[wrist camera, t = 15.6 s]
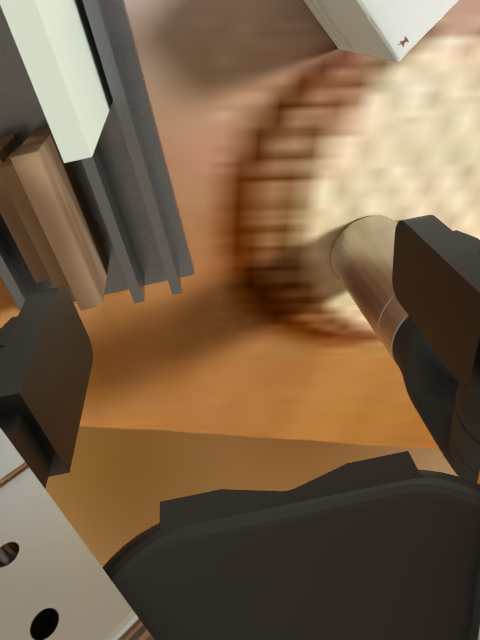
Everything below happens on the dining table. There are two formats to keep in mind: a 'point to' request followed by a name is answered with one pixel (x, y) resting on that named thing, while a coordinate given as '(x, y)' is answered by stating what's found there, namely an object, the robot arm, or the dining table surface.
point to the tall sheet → (62, 70)
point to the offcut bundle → (51, 218)
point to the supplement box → (378, 24)
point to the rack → (105, 166)
